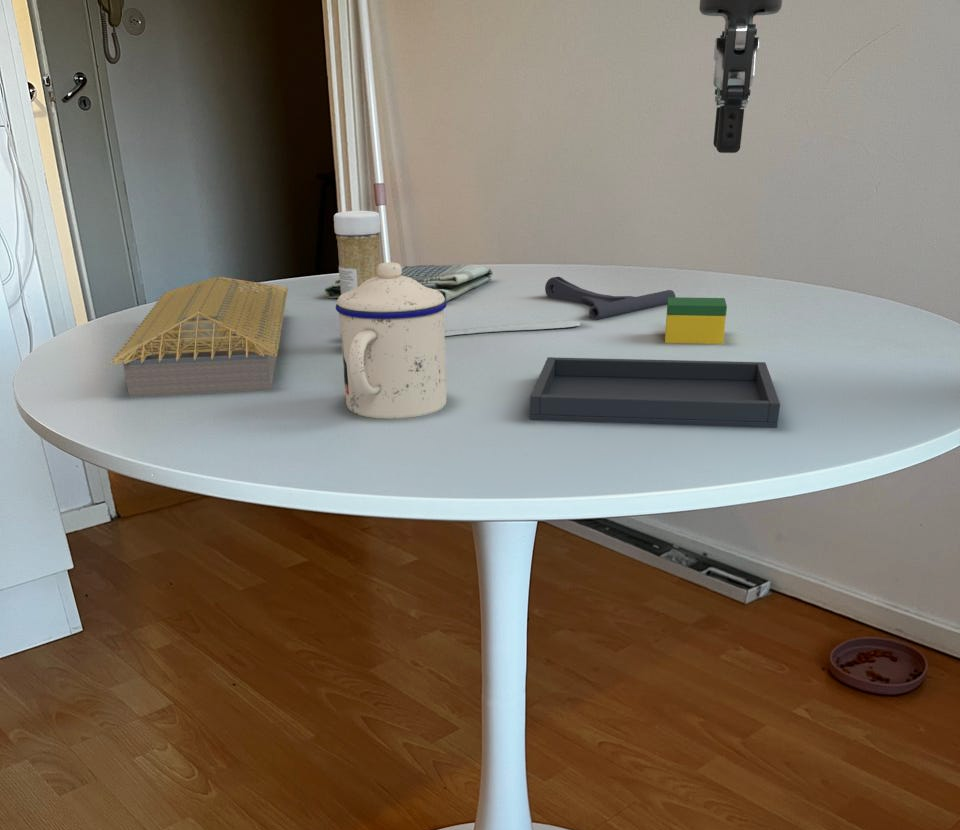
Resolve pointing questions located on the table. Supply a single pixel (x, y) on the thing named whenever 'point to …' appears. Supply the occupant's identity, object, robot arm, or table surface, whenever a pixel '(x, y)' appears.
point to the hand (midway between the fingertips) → (725, 150)
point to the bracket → (604, 299)
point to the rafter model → (206, 340)
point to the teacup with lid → (393, 346)
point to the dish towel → (438, 278)
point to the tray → (655, 392)
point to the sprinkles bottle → (357, 247)
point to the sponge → (695, 320)
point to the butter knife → (516, 327)
